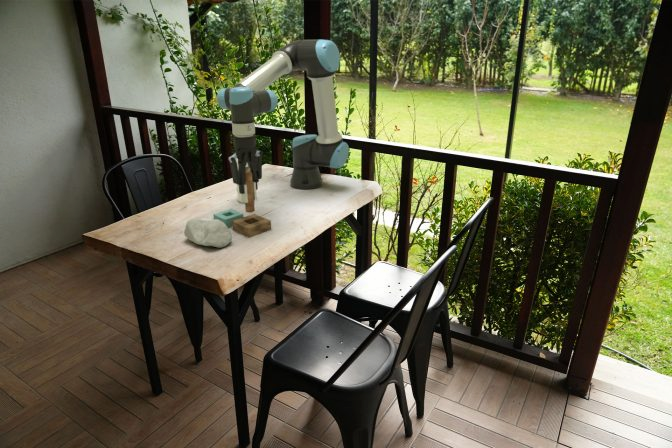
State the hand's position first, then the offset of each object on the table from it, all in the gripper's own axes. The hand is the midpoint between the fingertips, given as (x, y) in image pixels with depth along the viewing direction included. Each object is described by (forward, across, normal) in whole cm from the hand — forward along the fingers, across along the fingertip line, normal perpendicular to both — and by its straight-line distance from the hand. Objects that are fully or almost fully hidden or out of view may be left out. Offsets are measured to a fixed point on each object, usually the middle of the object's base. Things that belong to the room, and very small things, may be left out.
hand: (249, 200), depth 167 cm
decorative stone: (+12, -17, +2) cm, 21 cm away
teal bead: (+11, -2, +12) cm, 17 cm away
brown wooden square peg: (+4, 0, 0) cm, 4 cm away
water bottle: (+12, +17, +28) cm, 35 cm away
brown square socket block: (+11, 0, 0) cm, 11 cm away
